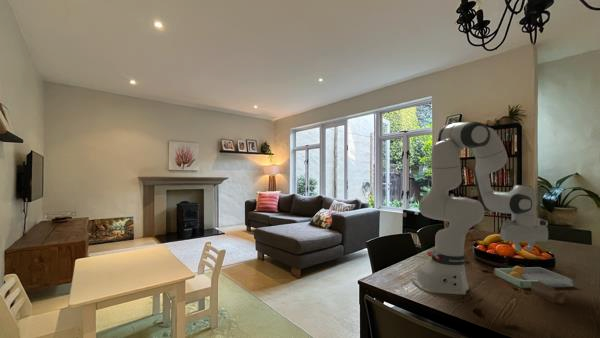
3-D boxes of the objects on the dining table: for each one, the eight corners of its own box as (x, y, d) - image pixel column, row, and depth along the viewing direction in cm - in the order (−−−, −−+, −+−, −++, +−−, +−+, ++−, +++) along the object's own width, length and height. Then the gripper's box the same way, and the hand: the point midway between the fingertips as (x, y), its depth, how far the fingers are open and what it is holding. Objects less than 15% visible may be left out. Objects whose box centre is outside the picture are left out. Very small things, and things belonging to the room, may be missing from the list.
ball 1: (523, 275, 119) (513, 270, 121) (520, 277, 122) (510, 272, 125) (526, 268, 120) (516, 263, 122) (523, 270, 123) (513, 265, 126)
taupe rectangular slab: (553, 304, 98) (553, 292, 98) (531, 292, 108) (531, 281, 108) (563, 305, 98) (563, 293, 98) (540, 292, 108) (540, 281, 108)
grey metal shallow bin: (540, 287, 111) (540, 280, 111) (511, 274, 126) (511, 267, 126) (572, 286, 112) (572, 279, 112) (540, 273, 127) (540, 267, 127)
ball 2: (508, 274, 121) (512, 268, 119) (518, 279, 118) (523, 273, 116) (507, 278, 118) (511, 272, 116) (517, 284, 116) (522, 278, 114)
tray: (521, 288, 111) (521, 281, 111) (494, 274, 125) (494, 268, 125) (538, 287, 111) (538, 280, 111) (509, 274, 126) (509, 268, 126)
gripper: (508, 221, 115) (508, 252, 115) (551, 222, 116) (551, 252, 116) (496, 218, 121) (496, 248, 121) (537, 219, 123) (537, 248, 122)
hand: (523, 250), depth 119 cm, fingers open, 3 cm apart
